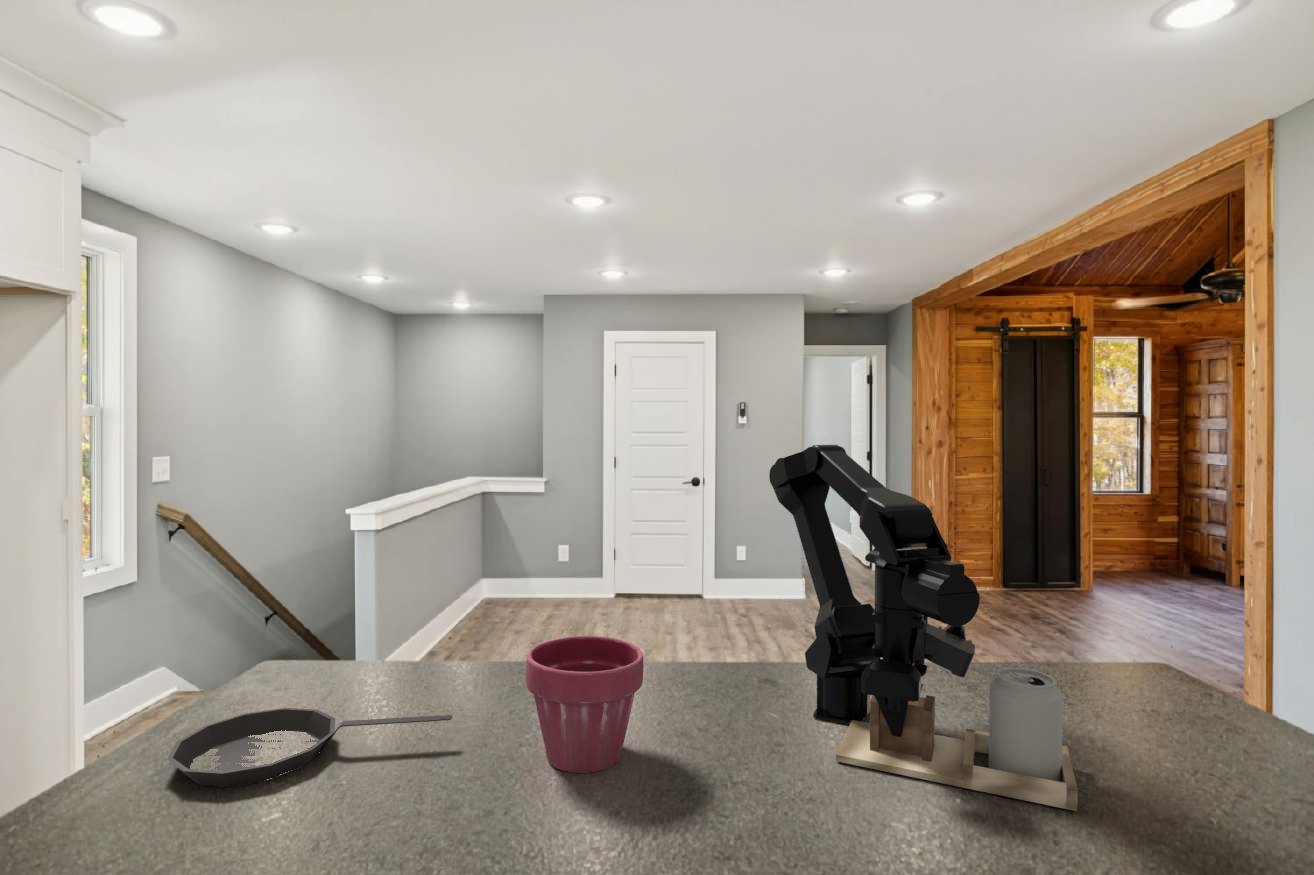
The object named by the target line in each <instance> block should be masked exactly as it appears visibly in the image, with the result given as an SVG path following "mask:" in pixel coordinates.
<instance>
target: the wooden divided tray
mask: <svg viewBox="0 0 1314 875" xmlns="http://www.w3.org/2000/svg"><path fill="white" fill-rule="evenodd" d="M935 707H936V696H932V695H928V694H927V695H925V697H921V696H920V698H919V701H914V702H912V701H909V702H908V707H907V712H906V717H905V722H904V726H903V731H902V736H901V737H897V736H893V735H892V734H891V732H890V730H889V727H888V725H887V723H886V721H885V718H884V716H883V714H882V711H881V709H880V707H879V705H878V703H877V701H876V699H875V697H874V695H871V697H870V711H869V722H866V721H863V722H862V721H856V720H852V721H851V723H850V724H848V725H849V726H848V728H847V729H846V732H845V733H844V736H843V739H842V741H841V743H840V745H839V747H838V749H837V751H836V753H835V761H836V762H839V763H844V764H847V765H852V766H857V767H863V768H867V769H872V770H876V771H881V772H882V771H883V772H887V773H891V774H896V775H901V776H905V777H911V778H915V779H920V780H924V781H929V782H934V783H939V784H944V785H950V786H954V787H958V788H964V789H969V790H972V791H978V792H983V793H988V794H992V795H997V796H1002V797H1007V798H1011V799H1016V800H1021V801H1026V802H1031V803H1034V804H1042V805H1045V806H1048V807H1055V808H1059V809H1064V810H1068V811H1074V812H1078V796H1079V795H1078V794H1079V793H1078V792H1079V791H1078V785H1077V782H1076V777H1075V773H1074V769H1073V764H1072V760H1071V756H1070V751H1069V748H1068V745H1063V744H1062V781H1061V782H1058V781H1053V780H1047V779H1042V778H1037V777H1032V776H1027V775H1022V774H1016V773H1011V772H1006V771H1001V770H996V769H991V768H990V767H984V766H981V765H980V766H979V765H975V753H981V754H984V755H989V731H988V732H987V731H982V730H978V729H970V728H965V736H964V737H965V738H964V739H962V738H957V737H956V738H955V737H950V736H949V737H948V736H944V735H939V734H935V731H936V730H935V728H936V727H935V725H936V724H935V719H936V716H935V714H936V713H935V712H936V711H935V710H936V708H935Z"/></svg>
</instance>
